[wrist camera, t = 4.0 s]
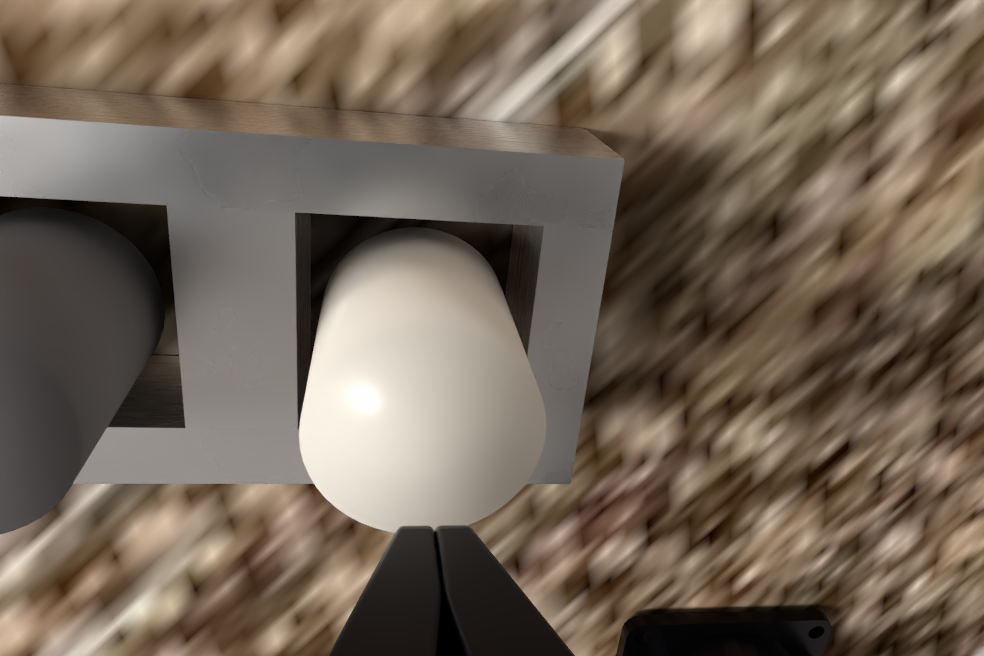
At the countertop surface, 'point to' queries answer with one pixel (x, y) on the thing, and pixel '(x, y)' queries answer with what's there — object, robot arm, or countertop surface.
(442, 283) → the button ivory
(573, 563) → the countertop surface
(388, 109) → the countertop surface
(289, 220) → the button strip
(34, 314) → the button charcoal
